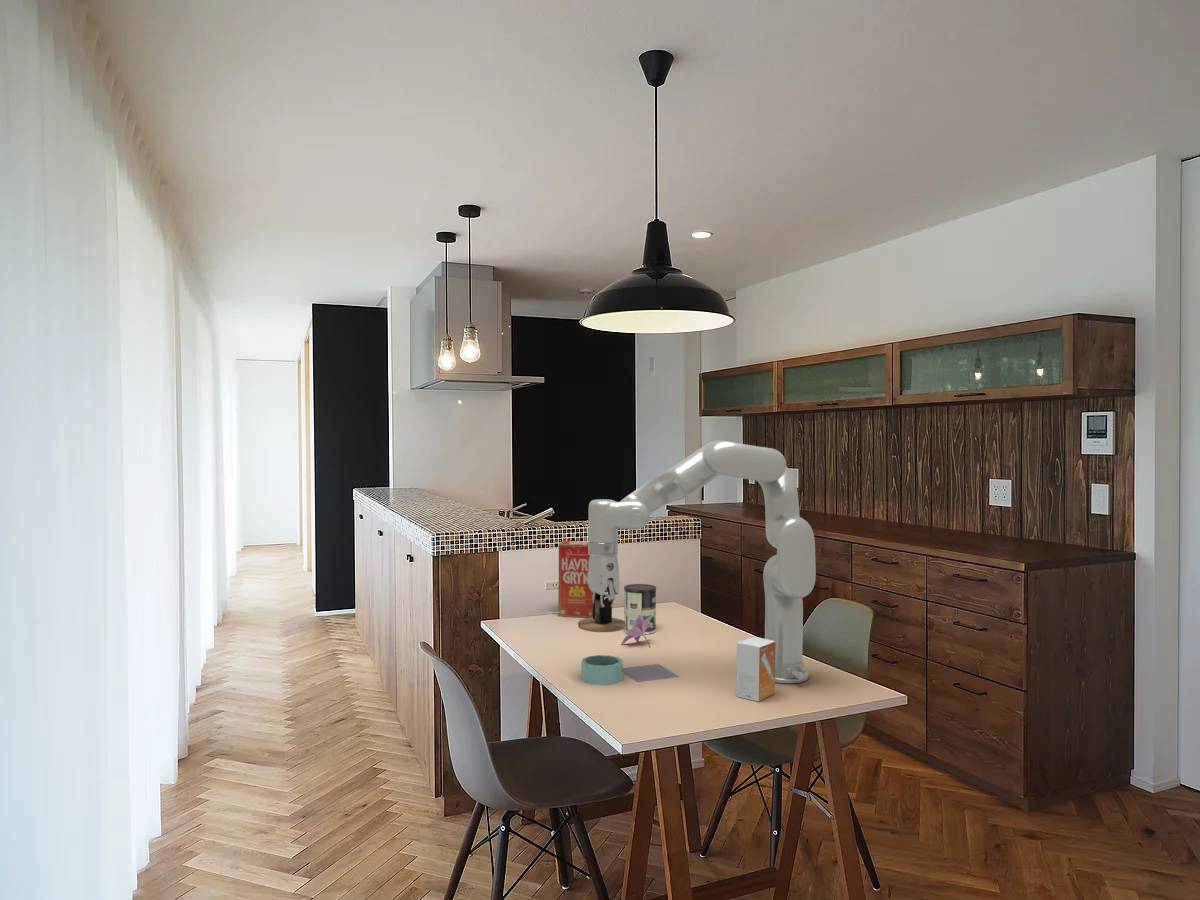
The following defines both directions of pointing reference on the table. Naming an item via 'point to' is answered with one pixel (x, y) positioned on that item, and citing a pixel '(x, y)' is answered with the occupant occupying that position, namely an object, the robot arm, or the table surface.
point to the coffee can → (640, 605)
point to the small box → (755, 668)
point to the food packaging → (574, 580)
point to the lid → (596, 626)
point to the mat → (648, 673)
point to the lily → (638, 629)
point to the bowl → (602, 669)
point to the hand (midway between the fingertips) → (602, 620)
